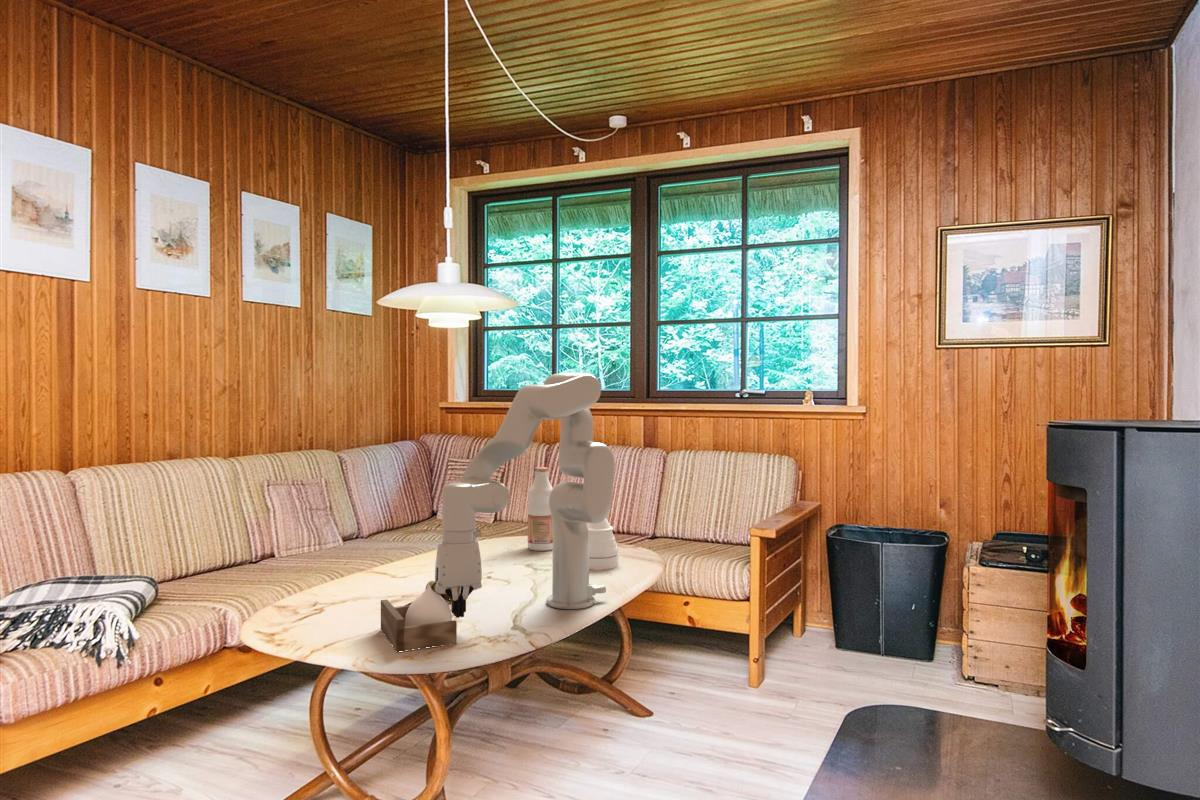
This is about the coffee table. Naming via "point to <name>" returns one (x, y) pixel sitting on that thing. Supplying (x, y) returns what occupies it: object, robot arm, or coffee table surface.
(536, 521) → the fruit juice
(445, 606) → the teardrop
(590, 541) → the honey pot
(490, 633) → the coffee table surface
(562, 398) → the robot arm
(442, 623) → the box
